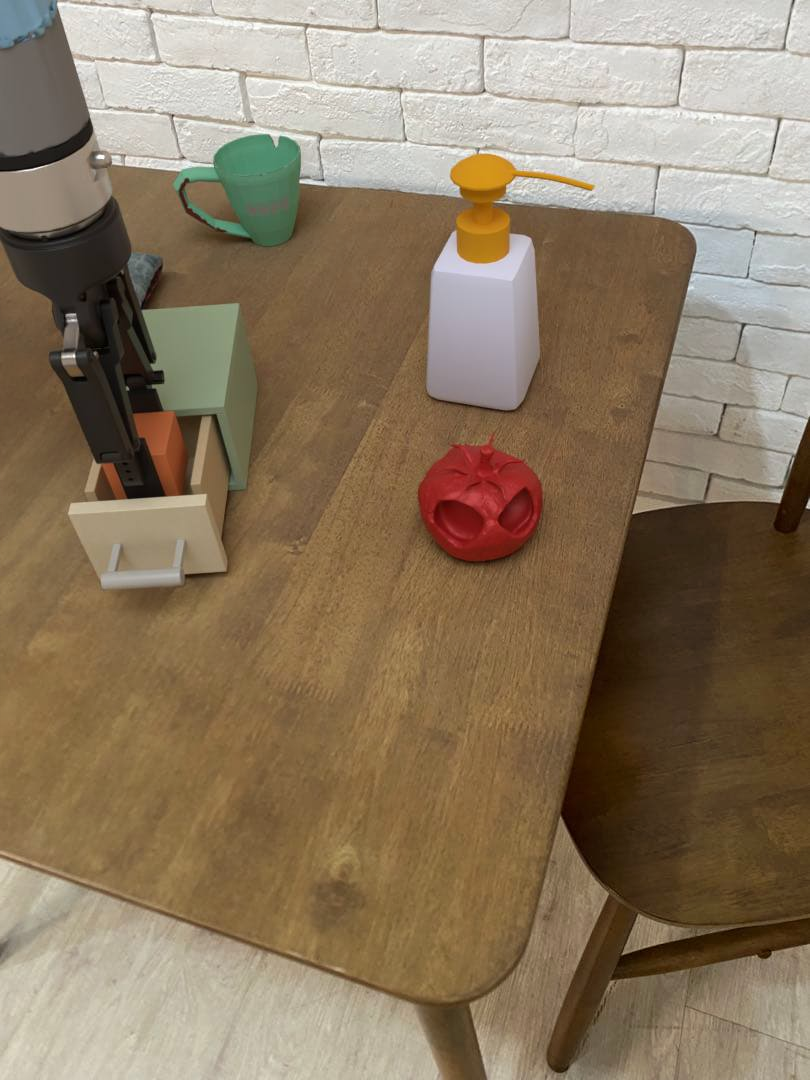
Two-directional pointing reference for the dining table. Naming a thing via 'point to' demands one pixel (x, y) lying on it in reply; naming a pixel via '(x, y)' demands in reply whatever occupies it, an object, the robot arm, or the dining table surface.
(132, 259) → the packaged food
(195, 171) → the mug
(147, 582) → the drawer
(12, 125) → the robot arm
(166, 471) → the block
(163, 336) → the cabinet
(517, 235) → the soap bottle
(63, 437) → the dining table surface
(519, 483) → the red carved tomato
